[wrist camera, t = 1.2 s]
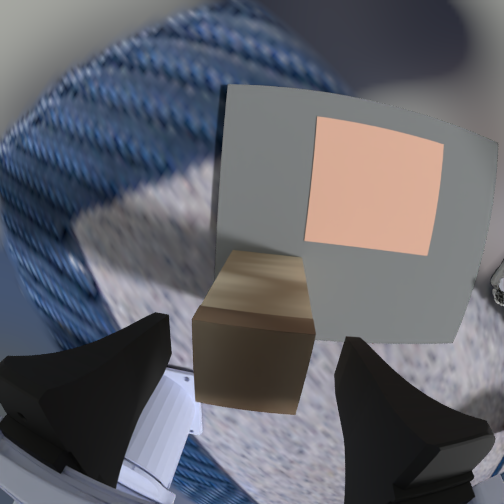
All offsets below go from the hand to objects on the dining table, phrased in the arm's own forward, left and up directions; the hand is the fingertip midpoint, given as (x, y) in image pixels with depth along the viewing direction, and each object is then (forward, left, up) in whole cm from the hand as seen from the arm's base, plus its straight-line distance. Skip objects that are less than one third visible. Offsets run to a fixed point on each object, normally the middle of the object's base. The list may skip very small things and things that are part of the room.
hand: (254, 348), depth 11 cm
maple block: (0, 0, -7) cm, 7 cm away
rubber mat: (+6, +4, -7) cm, 10 cm away
